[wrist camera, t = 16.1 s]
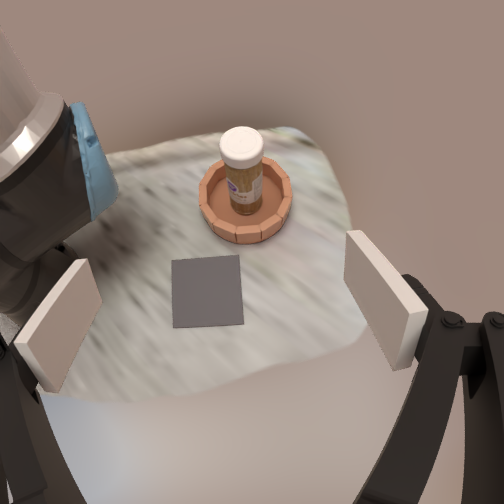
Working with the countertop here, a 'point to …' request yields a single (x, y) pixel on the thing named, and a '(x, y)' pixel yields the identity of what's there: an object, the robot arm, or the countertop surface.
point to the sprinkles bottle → (243, 168)
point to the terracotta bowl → (237, 225)
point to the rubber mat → (206, 292)
